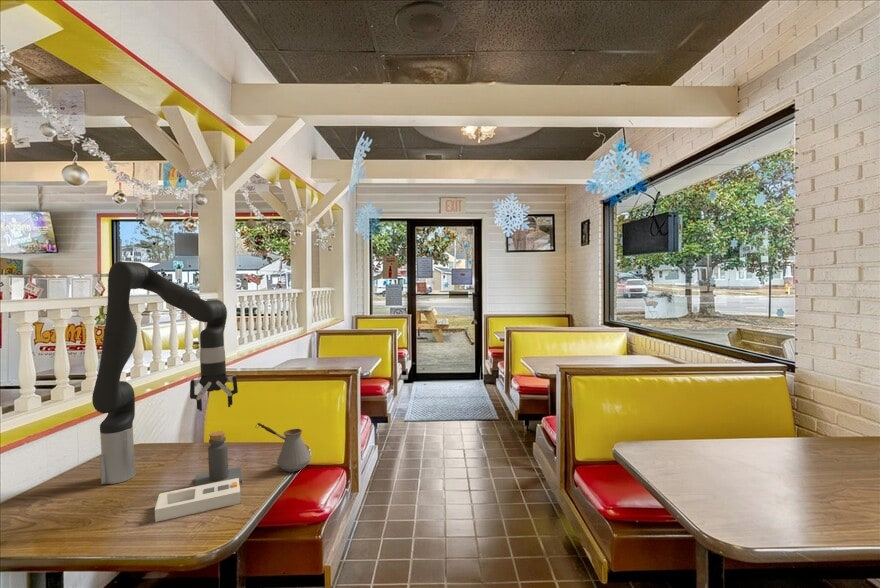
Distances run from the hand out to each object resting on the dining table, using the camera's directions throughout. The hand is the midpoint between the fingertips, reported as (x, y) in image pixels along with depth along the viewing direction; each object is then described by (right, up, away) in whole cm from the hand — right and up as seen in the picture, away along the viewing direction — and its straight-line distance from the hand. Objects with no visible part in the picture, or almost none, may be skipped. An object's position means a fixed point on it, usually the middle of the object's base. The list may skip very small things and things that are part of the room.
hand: (215, 408), depth 154 cm
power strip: (+3, -25, -15) cm, 29 cm away
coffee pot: (+18, -24, +12) cm, 33 cm away
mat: (+1, -25, +1) cm, 25 cm away
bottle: (+1, -24, +1) cm, 24 cm away
